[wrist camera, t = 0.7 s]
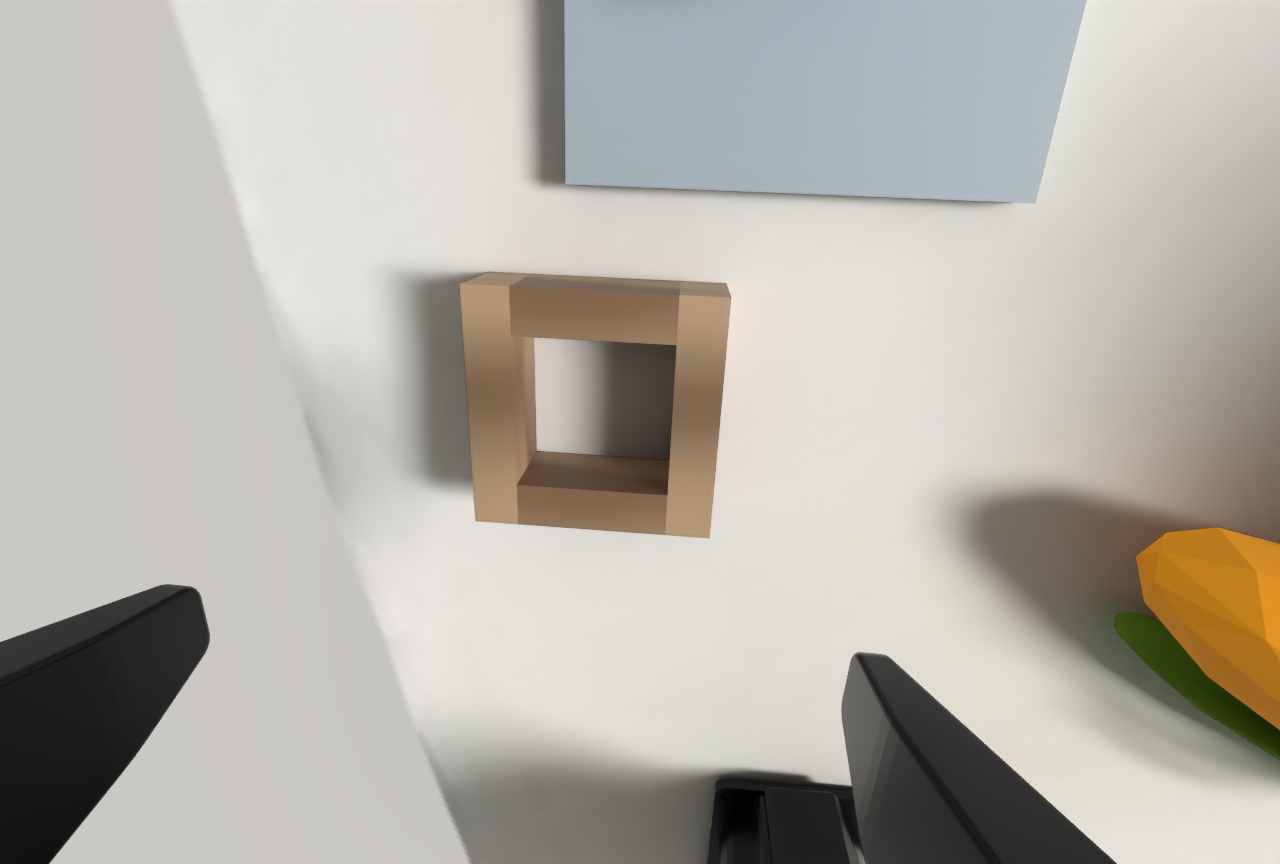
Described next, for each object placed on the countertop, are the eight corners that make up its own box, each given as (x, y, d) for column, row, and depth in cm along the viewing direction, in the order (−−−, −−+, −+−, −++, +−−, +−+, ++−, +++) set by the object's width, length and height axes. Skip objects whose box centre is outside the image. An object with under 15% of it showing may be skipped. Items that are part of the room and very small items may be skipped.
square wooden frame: (707, 498, 21) (709, 537, 18) (499, 484, 21) (475, 520, 19) (726, 283, 18) (731, 297, 16) (488, 271, 18) (459, 283, 16)
